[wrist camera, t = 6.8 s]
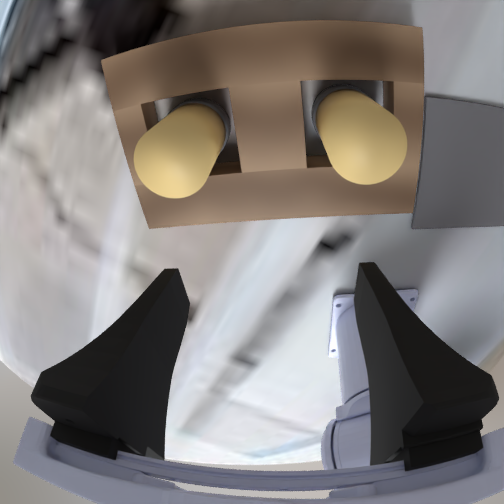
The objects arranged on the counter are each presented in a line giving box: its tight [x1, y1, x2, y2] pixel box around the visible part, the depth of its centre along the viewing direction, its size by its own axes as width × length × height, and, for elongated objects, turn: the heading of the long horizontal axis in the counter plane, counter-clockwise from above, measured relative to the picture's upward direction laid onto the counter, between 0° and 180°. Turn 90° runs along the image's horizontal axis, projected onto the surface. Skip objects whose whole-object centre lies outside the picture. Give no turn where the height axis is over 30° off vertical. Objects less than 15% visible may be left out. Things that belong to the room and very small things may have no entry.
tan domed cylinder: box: [134, 98, 230, 198], centre depth 16 cm, size 4×4×6 cm
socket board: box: [101, 20, 424, 229], centre depth 17 cm, size 12×18×2 cm, turn 97°
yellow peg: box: [312, 84, 407, 185], centre depth 15 cm, size 4×4×6 cm
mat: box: [411, 96, 504, 229], centre depth 18 cm, size 10×10×1 cm
